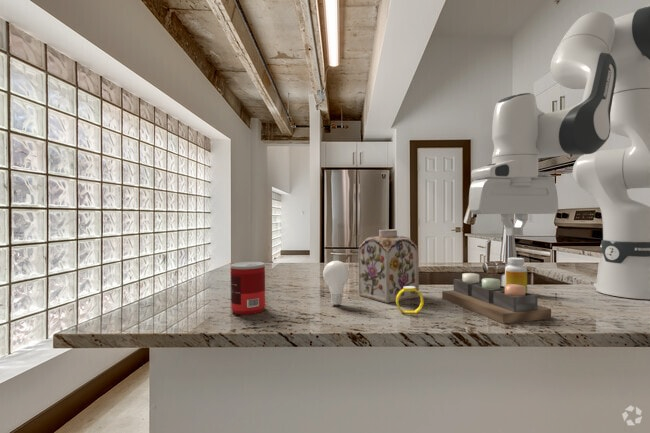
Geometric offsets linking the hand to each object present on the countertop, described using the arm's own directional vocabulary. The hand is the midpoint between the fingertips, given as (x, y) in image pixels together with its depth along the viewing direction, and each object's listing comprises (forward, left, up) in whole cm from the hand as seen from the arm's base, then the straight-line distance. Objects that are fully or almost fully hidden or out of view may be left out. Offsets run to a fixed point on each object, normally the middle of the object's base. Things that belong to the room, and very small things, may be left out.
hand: (514, 235), depth 81 cm
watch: (+20, -10, -18) cm, 28 cm away
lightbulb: (+34, -21, -18) cm, 43 cm away
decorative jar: (+18, -26, -18) cm, 36 cm away
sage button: (0, -8, -14) cm, 16 cm away
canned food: (+55, -23, -18) cm, 62 cm away
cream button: (0, -15, -14) cm, 20 cm away
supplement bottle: (-16, -18, -18) cm, 30 cm away
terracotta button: (0, 0, -14) cm, 14 cm away
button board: (0, -8, -18) cm, 19 cm away
